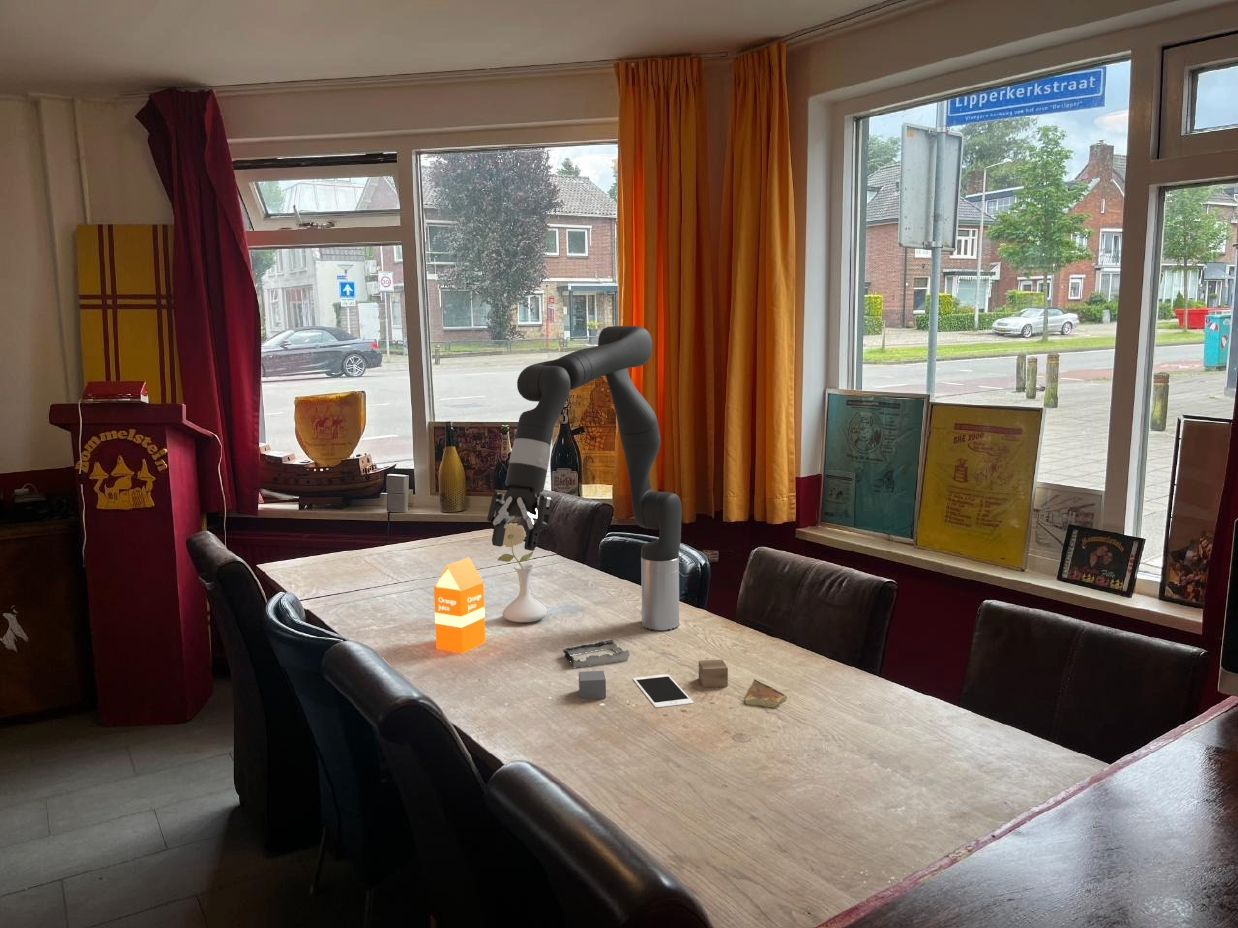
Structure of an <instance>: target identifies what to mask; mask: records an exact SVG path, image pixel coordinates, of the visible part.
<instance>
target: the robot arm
mask: <svg viewBox="0 0 1238 928" xmlns="http://www.w3.org/2000/svg"><path fill="white" fill-rule="evenodd" d="M652 352H653V340H652V337H651V334H650V332H649V331H648V330H647V328H644V327H642V326H638V325H616V326H615V325H614V326H607V327H604V328H602V330H601V331H600V332H599V335H598V340H597V346H592V347H586V348H582V349H579V350H575V351H573V352H570V353H568V354H565V355H563V356H561V357H558V358H556V359H551V360H546V361H543V362H537V363H533V364H531V365H528V366H526V367H525V368H523V370H521V372H520V373H519V375H518V377H517V381H516V386H517V387H516V388H517V392H518V393H519V395H520V396H521V397H522V398H523V399H524V400H527V401H530V402H538V403H537V405H536V406H535V407H533V408H532V409H529V410H526V411H523V412H521V414H520V415H519V418H518V422H517V423H518V424H517V428H516V433H515V438H514V442H513V445H512V448H511V452H510V457H509V461H508V466H507V467H508V468H507V471H506V472H507V473H506V475H505V477H506V478H505V482H504V484H505V486H506V491H505V493H502V492H499V491H494V492H493V493H492V498H491V502H490V506H489V510H488V515H487V518H486V519H487V521H488V522H490V523H491V524H493V527H494V528H493V531H492V537H491V544H492V546H495V547H499V548H502V547H503V546H502V545H503V541H504V535H505V530H506V528H504V527H505V526H506V525H507V524H509V523H510V522H511V521H512V520H514V519H515V517H516V518H523V519H524V520H525V521H526V524H527V528H528V529H527V530H526V531H527V532H526V534H525V535H526V537H525V539H524V540H525V541H524V548H523V549H525V550H527V551H530V552H534V551H535V550H536V549H535V548H537V545H538V541H539V534H540V532H541V531H542V530H548V529H549V528H550V524H551V516H552V510H553V509H552V508H553V503H554V502H553V501H554V500H553V498H552V497H549V496H546V495H541V493H543V492H544V490H545V485H546V479H547V476H548V475H547V474H548V470H549V469H548V468H549V464H550V457H551V444H552V441H553V436H554V429H555V425H556V423H557V421H558V419H559V418H560V415H561V413H562V411H563V409H564V407H565V404H566V402H567V400H568V397H569V396H570V391H572V390H575V389H577V388H580V387H582V386H584V385H587V384H588V383H590V382H592V381H594V380H596V379H599V378H601V377H604V376H605V379H606V382H607V385H608V388H609V391H610V395H611V396H610V397H611V399H612V403H613V407H614V411H615V415H616V421H617V426H618V427H617V428H618V431H619V437H620V441H621V446H622V450H623V455H624V459H625V463H626V468H627V473H628V479H629V487H630V489H629V490H630V498H631V507H632V513H633V516H634V520H635V522H636V524H637V525H638V526H639V527H640V528H643V529H650V530H657V531H659V535H658V538H657V539H656V540H653V541H650V542H646V543H644V544H642V546H641V549H640V561H641V562H640V563H641V565H640V568H641V571H640V572H641V575H640V576H641V578H640V579H641V580H640V581H641V626H642V625H643V626H644V627H646V628H645V629H647V628H649V629H648V630H651V629H656V630H655V631H668V630H667V629H670V630H673V629H672V628H674V629H676V628H675V627H677V626H678V625H679V626H680V547H681V542H682V541H681V540H682V539H681V538H682V521H683V520H682V519H683V518H682V516H683V509H682V507H683V506H682V501H681V499H680V496H678V494H676V493H675V492H674V493H673V492H666V491H655V490H653V489H652V486H651V478H650V475H651V474H650V472H651V469H652V466H653V464H654V462H655V460H656V457H657V455H658V454H659V453H658V452H660V451H659V450H660V447H661V444H662V443H661V433H660V427H659V423H658V418H657V415H656V412H655V410H654V409H653V408H652V407H651V404H649V402H648V401H647V400H646V398H645V397H644V396H643V395H642V394H641V393H640V392H639V390H638V389H637V387H636V386H635V384H634V383H633V380H632V379H631V377H630V374H629V373H630V372H629V368H637V367H642V366H643V365H645V364H646V363H647V362H648V361H649V359H650V358H651V356H652ZM643 626H642V627H643ZM679 626H678V627H679ZM644 627H643V628H644ZM678 627H677V628H678Z"/></svg>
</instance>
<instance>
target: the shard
mask: <svg viewBox="0 0 1238 928" xmlns="http://www.w3.org/2000/svg"><path fill="white" fill-rule="evenodd" d="M787 698H788V696H787V695H785V694H784V693H782V692H781V691H778V690H777V689H775V688H773V687H771V686H769V685H767V684H764V683H763V682H761V681H759V680H756V679H755V678H754V679H753V681H752V683H751V686H750V687H748V690H747V692H746V694H745V698H744V701H745V704H746V705H752V706H762V707H768V708H775V707H777V706H778V705H779V704H780V703H783V702H786V701H787Z"/></svg>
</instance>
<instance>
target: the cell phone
mask: <svg viewBox="0 0 1238 928" xmlns="http://www.w3.org/2000/svg"><path fill="white" fill-rule="evenodd" d="M632 681H633V682H634V683H635V684H636V686H637V687H638V688H639V689H640V691H641V692H642V693H643V694H644V695H645V697H646V699H648V700H649V702H650V703H651V704H652V706H653V707H654V708H655V709H660V708H669V707H676V706H678V707H679V706H684V705H685V706H686V705H691V704H694V703H695V702H694V700H692V698H691V697H689V695H688V694H687V693H686V692H685V691H684V690H683V689H682V687H680V685H679V684H677V682H676V681H675V679H673V678H672V677H671V675H669V674H668V673H667V674H655V675H647V676H638V677H633V678H632Z"/></svg>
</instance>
